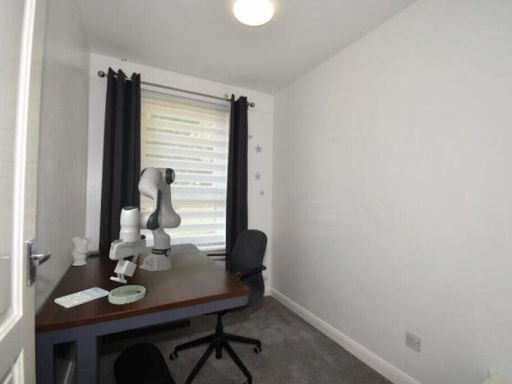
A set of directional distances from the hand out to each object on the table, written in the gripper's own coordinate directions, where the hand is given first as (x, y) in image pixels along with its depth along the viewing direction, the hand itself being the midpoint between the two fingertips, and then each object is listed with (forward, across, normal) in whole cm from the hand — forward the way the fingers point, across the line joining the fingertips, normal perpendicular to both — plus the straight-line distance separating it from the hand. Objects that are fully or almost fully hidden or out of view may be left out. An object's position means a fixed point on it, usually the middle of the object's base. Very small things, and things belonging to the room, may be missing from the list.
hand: (128, 264), depth 130 cm
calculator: (+18, -9, +20) cm, 28 cm away
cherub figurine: (+17, +32, +78) cm, 86 cm away
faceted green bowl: (+17, 0, 0) cm, 17 cm away
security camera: (+7, -6, 0) cm, 9 cm away
